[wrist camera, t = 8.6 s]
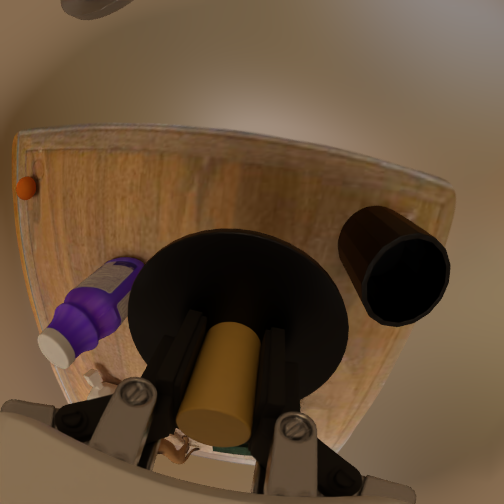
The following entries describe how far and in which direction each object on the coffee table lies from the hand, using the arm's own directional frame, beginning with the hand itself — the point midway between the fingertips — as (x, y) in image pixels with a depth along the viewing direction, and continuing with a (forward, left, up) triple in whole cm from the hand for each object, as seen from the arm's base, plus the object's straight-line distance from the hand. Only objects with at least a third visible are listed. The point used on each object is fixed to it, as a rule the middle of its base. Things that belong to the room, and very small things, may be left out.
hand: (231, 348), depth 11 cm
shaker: (0, +14, -22) cm, 26 cm away
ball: (+1, -35, -20) cm, 40 cm away
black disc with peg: (0, 0, -1) cm, 1 cm away
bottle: (+11, -16, -22) cm, 29 cm away
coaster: (+49, +10, -22) cm, 55 cm away
